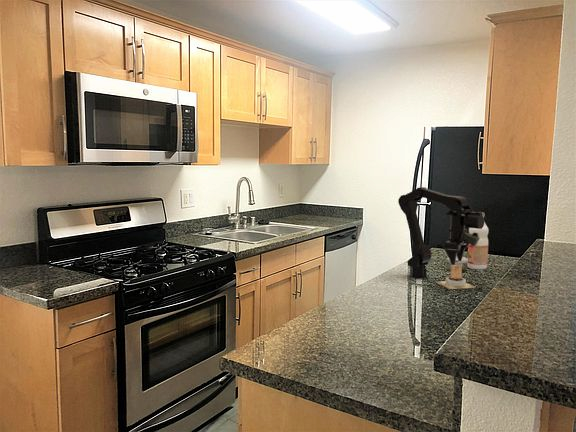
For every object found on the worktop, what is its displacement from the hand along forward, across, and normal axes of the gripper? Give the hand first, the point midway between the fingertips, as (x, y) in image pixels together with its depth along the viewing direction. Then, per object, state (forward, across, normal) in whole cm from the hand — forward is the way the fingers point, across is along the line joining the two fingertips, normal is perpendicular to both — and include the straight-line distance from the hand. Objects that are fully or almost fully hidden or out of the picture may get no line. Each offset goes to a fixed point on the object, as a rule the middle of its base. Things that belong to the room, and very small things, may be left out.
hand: (456, 262), depth 197 cm
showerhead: (+11, +31, +9) cm, 34 cm away
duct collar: (+10, 0, 0) cm, 10 cm away
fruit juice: (+11, +43, +2) cm, 45 cm away
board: (+10, 0, 0) cm, 11 cm away
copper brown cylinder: (+10, 0, 0) cm, 10 cm away
